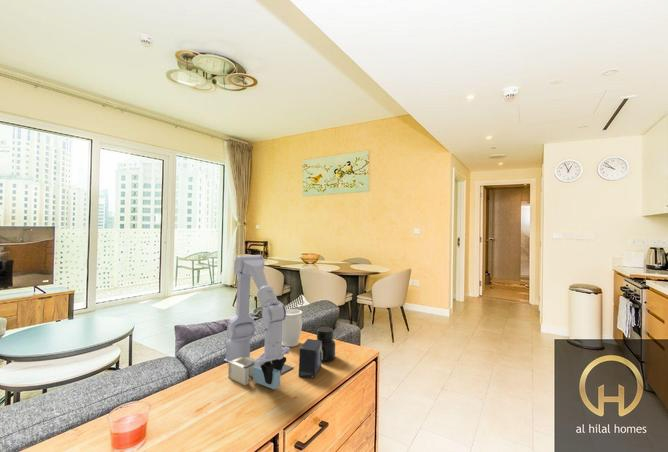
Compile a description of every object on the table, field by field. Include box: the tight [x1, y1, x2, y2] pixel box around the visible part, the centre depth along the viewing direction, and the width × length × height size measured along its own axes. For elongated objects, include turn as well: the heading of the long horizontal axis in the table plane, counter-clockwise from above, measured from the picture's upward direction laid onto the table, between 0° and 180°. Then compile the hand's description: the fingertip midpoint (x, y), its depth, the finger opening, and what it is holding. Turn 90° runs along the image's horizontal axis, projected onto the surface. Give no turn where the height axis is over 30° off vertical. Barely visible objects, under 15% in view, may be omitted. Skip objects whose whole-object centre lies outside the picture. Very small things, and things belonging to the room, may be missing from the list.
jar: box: [282, 308, 303, 348], centre depth 147 cm, size 11×10×15 cm
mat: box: [271, 361, 294, 376], centre depth 123 cm, size 14×8×1 cm, turn 56°
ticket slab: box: [252, 366, 281, 390], centre depth 108 cm, size 10×3×5 cm, turn 56°
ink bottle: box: [316, 326, 336, 363], centre depth 132 cm, size 10×9×12 cm
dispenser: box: [227, 356, 256, 386], centre depth 114 cm, size 9×7×6 cm
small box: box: [298, 338, 322, 379], centre depth 120 cm, size 11×6×10 cm, turn 168°
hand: (272, 381), depth 106 cm, fingers closed on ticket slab, 3 cm apart
